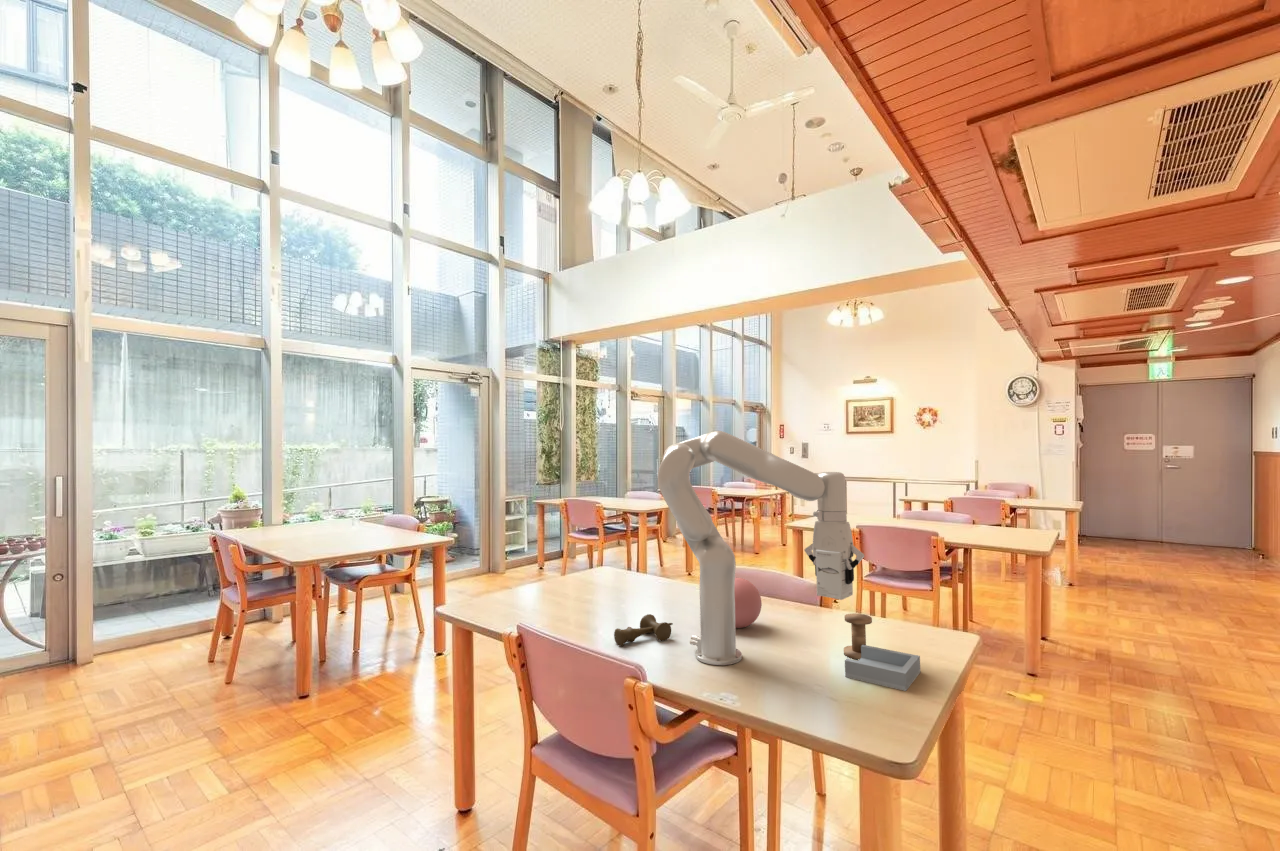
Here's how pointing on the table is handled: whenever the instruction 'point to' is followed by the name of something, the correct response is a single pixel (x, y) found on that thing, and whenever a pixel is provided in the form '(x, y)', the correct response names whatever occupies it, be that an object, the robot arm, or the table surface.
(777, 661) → the table surface
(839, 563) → the supplement box
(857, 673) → the square tray
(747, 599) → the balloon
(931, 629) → the table surface
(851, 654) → the doorknob
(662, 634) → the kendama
